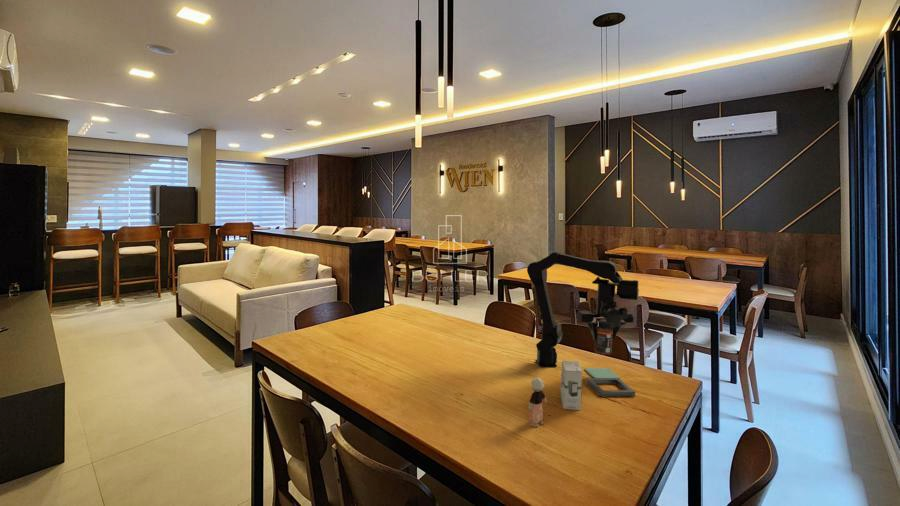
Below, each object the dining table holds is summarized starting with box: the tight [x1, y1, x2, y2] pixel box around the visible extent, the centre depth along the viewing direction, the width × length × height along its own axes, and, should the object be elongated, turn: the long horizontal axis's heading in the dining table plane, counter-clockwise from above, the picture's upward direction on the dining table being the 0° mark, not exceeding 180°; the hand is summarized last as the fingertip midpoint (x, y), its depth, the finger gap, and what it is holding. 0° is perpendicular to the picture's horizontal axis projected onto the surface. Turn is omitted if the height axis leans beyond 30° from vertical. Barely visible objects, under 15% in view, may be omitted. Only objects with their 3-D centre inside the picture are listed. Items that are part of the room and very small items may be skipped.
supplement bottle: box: [593, 320, 613, 356], centre depth 146 cm, size 6×6×11 cm
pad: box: [584, 367, 621, 380], centre depth 147 cm, size 9×9×1 cm
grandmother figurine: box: [527, 377, 547, 428], centre depth 110 cm, size 8×4×13 cm, turn 145°
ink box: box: [559, 360, 583, 411], centre depth 123 cm, size 9×5×12 cm, turn 172°
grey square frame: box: [586, 377, 636, 398], centre depth 134 cm, size 11×11×2 cm
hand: (603, 340), depth 146 cm, fingers closed on supplement bottle, 6 cm apart
